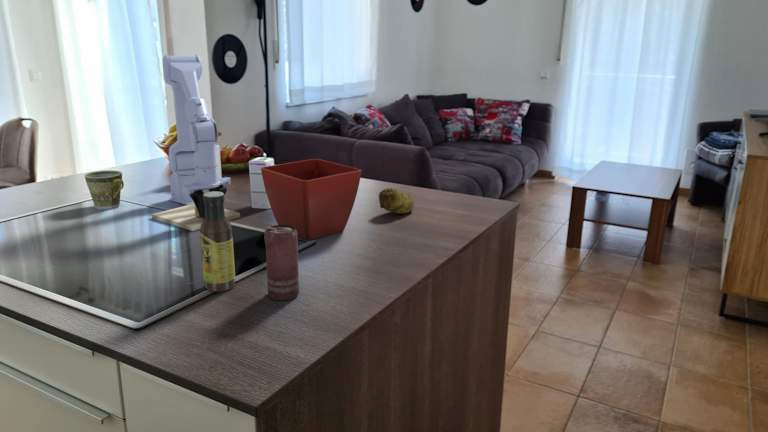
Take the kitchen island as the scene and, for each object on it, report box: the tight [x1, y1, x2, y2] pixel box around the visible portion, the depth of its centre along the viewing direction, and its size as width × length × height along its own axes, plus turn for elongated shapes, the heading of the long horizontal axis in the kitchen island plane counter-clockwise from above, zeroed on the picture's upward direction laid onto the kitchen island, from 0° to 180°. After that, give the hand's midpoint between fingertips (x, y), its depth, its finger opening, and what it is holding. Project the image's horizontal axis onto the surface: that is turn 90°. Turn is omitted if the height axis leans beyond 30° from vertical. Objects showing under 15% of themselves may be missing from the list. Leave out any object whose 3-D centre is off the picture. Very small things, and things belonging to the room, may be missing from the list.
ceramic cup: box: [84, 169, 125, 211], centre depth 172 cm, size 13×10×10 cm
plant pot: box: [261, 158, 362, 241], centre depth 153 cm, size 19×19×17 cm
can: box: [263, 224, 300, 302], centre depth 114 cm, size 6×6×14 cm
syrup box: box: [248, 156, 275, 210], centre depth 175 cm, size 6×6×14 cm
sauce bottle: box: [199, 191, 236, 293], centre depth 117 cm, size 6×6×20 cm
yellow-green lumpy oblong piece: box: [378, 187, 415, 215], centre depth 171 cm, size 8×13×8 cm, turn 120°
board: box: [151, 204, 241, 232], centre depth 164 cm, size 18×16×1 cm
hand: (209, 214), depth 161 cm, fingers closed on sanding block, 4 cm apart
